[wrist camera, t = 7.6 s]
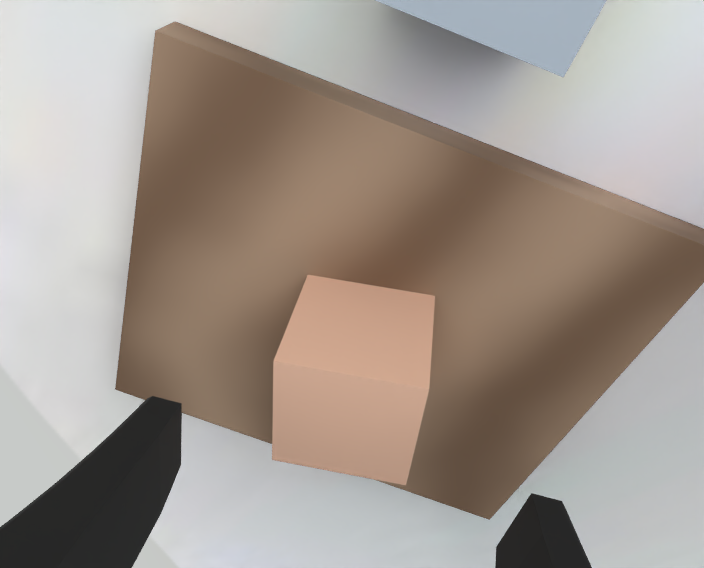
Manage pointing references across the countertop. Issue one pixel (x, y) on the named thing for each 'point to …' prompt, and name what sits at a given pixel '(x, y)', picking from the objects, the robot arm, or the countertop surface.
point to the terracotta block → (353, 379)
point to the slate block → (514, 25)
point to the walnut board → (381, 261)
